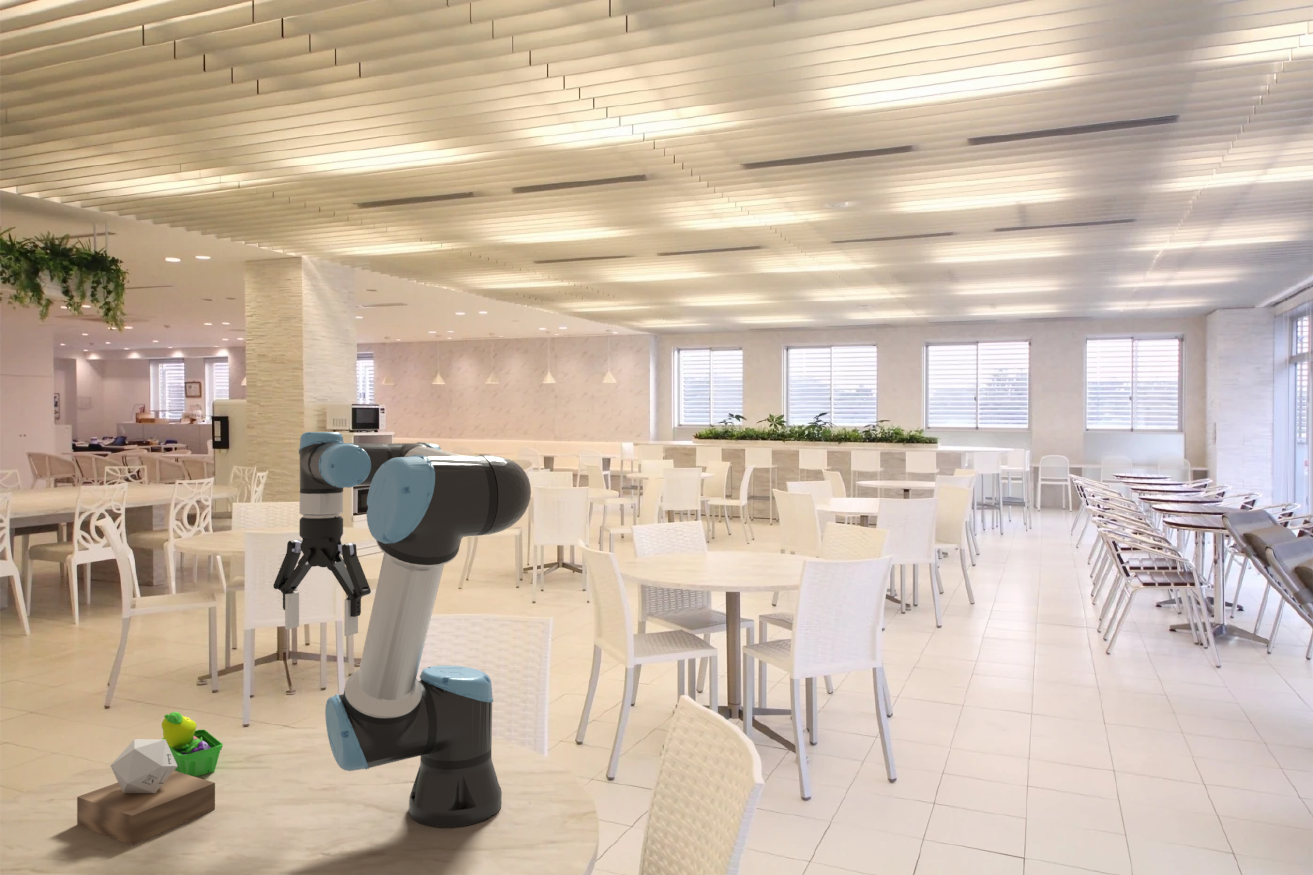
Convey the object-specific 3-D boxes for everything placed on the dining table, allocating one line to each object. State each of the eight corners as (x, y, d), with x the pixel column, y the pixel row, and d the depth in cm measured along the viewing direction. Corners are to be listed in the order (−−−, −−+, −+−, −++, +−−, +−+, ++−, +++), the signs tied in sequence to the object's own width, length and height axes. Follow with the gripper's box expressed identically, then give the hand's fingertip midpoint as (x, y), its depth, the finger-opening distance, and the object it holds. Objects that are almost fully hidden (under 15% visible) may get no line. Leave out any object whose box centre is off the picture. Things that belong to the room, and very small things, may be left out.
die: (129, 809, 137) (172, 754, 140) (88, 777, 139) (132, 723, 142) (156, 807, 145) (197, 754, 148) (117, 777, 146) (158, 725, 149)
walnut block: (214, 812, 147) (215, 782, 146) (131, 848, 134) (131, 815, 134) (161, 795, 153) (161, 766, 153) (77, 828, 140) (77, 796, 140)
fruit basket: (224, 772, 162) (225, 710, 162) (171, 785, 156) (171, 722, 156) (203, 754, 170) (204, 696, 170) (152, 767, 164) (152, 706, 164)
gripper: (390, 516, 162) (390, 632, 162) (283, 511, 170) (283, 621, 171) (363, 520, 155) (363, 641, 155) (253, 514, 163) (252, 629, 164)
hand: (321, 631), depth 163 cm, fingers open, 13 cm apart
